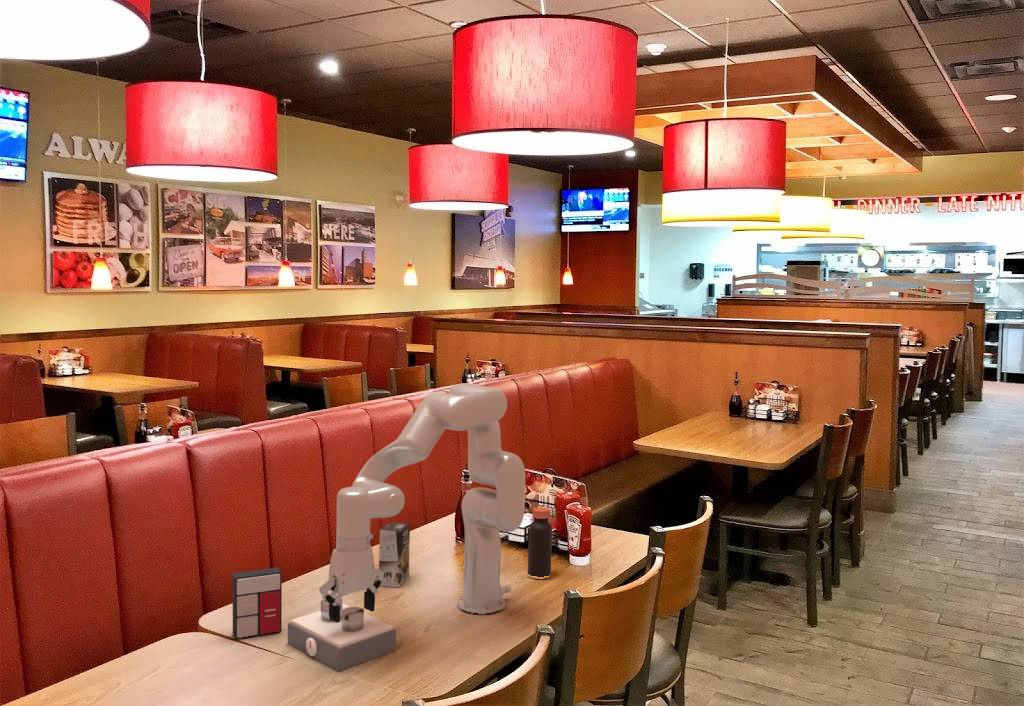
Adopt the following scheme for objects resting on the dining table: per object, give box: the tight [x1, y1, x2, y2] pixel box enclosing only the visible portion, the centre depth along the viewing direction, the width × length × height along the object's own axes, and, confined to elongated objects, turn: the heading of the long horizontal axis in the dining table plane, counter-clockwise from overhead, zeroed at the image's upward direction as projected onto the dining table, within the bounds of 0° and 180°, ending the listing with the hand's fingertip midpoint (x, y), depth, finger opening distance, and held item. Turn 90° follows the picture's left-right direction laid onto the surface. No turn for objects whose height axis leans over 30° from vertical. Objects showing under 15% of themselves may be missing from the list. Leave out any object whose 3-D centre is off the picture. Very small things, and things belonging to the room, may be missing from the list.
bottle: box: [527, 506, 553, 577], centre depth 254 cm, size 7×7×20 cm
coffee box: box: [378, 521, 411, 588], centre depth 247 cm, size 9×6×16 cm
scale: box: [287, 603, 397, 672], centre depth 202 cm, size 17×20×6 cm
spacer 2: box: [342, 606, 365, 632], centre depth 199 cm, size 5×5×4 cm
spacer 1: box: [320, 596, 343, 622], centre depth 205 cm, size 5×5×4 cm
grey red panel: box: [231, 567, 283, 639], centre depth 208 cm, size 11×4×15 cm, turn 117°
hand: (352, 615), depth 199 cm, fingers open, 9 cm apart
